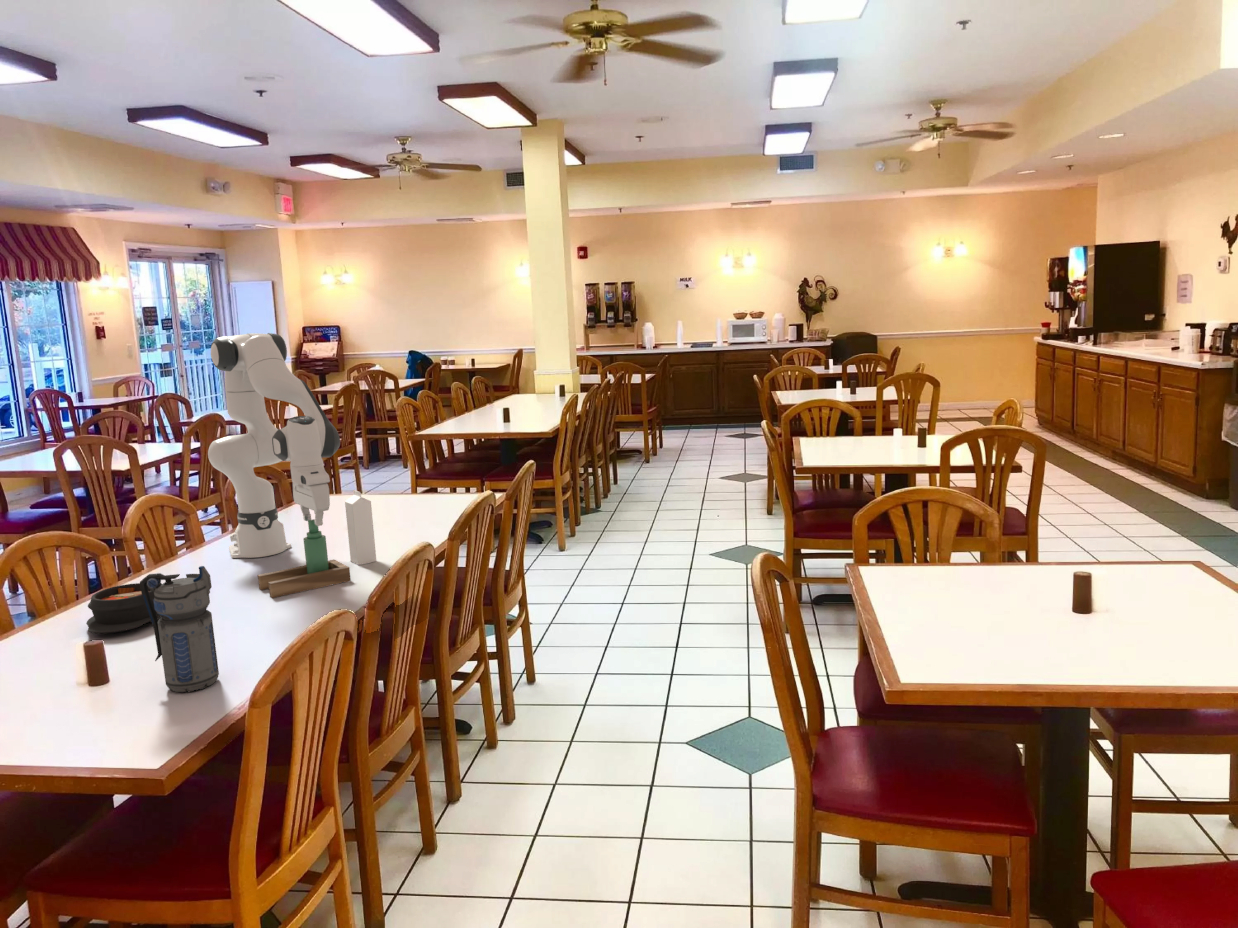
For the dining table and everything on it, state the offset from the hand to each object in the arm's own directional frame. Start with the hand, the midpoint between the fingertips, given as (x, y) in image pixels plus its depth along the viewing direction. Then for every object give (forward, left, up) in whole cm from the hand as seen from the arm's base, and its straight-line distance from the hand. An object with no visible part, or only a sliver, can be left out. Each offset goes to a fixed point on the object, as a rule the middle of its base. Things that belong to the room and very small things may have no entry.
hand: (313, 522), depth 263 cm
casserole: (0, -49, -18) cm, 52 cm away
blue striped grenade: (+56, -47, -18) cm, 75 cm away
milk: (-12, +18, -18) cm, 28 cm away
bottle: (0, 0, -17) cm, 17 cm away
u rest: (0, -4, -17) cm, 18 cm away
